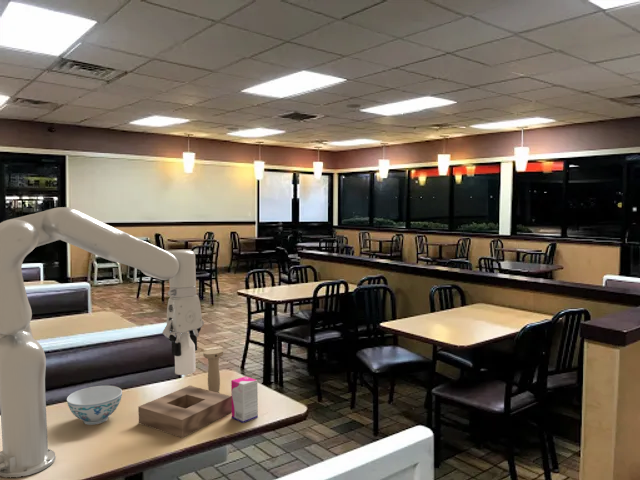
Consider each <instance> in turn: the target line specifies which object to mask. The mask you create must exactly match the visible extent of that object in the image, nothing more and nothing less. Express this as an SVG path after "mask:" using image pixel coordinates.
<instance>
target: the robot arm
mask: <svg viewBox="0 0 640 480" xmlns="http://www.w3.org/2000/svg"><path fill="white" fill-rule="evenodd" d="M56 241H62V242H65V243H67V244H69V245H72V246H74V247H76V248H79V249H80V250H81V249H82V250H83V251H85V252H88V253H90V254H92V255H95V256H97V257H100V258H102V259H105V260H108V261H110V262H114V263H119V264H123V265H125V266H128V267H131V268H134V269H136V270H139V271H140V272H141V273H143V275H145V276H147V277H149V278H154V279H158V280H161V281H169V282H168V283H169V290H168V291H167V295H168V296H169V298H168V300H167V301H168V302H167V308H166V326H165V327H164V329H163V330H162V333H161V334H162V335H164V336H165V338H166V339H168V341H169V342H170V343H171V355H172V356H174V357H175V356H181V343H180V342H179V339H180V335H181V333H184V332H188V333H189V334H190V338H191V340H192V341H193V342H194V344H195V352H196V351H198V337H199V334H200V332H201V329H202V328H203V326H204V324H205V322H204V320H203V317H202V307H201V300H200V297H199V294H198V295H197V274H196V273H197V272H196V265H197V264H196V254H195V252H194V251H193V250H190V249H179V250H178V249H177V250H173V251H172V250H171V251H167V250H165V249H162V248H161V247H159V246H157V245H154V244H152V243H149V242H148V241H144V240H142V239H141V238H138V237H136V236H134V235H131V234H130V233H127V232H126V231H123V230H121V229H118V228H116V227H114V226H112V225H109V224H107V223H105V222H103V221H101V220H99V219H96V218H94V217H93V216H91V215H88V214H87V213H84V212H82V211H79V210H78V209H75V208H72V207H68V206H64V207H63V206H62V207H60V206H59V207H54V208H50V209H46V210H44V211H39V212H36V213H31V214H27V215H23V216H19V217H14V218H10V219H6V220H3V221H1V222H0V424H1V425H0V427H1V442H2V443H1V444H2V446H1V447H2V451H0V477H2V478H7V477H10V478H11V477H16V478H22V477H21V476H23V477H27V476H30V475H34V474H36V473H39V472H41V471H43V470H45V469H46V468H47V469H48V467H50V466H52V464H53V463H54V462H55V461H56V452H55V451H54V450H52V449H50V448H49V446H48V445H49V444H48V443H49V442H48V423H47V422H48V420H47V403H46V401H47V400H46V367H47V358H46V354H45V351H44V348H43V346H42V345H41V344H40V343H39V342H38V341H37V340H36V339H35V338H34V336H33V332H32V328H31V324H30V323H31V321H32V316H33V313H32V307H31V304H30V301H29V298H28V294H27V292H26V287H25V282H24V277H23V272H22V270H23V269H22V266H23V262H24V260H25V258H26V257H27V256H28V255H29V254H30V253H31V252H33V250H34V249H35V248H37V247H40V246H44V245H46V244H50V243H53V242H56ZM10 478H9V479H10ZM11 479H12V478H11Z"/></svg>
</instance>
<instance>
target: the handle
mask: <svg viewBox="0 0 640 480" xmlns="http://www.w3.org/2000/svg"><path fill="white" fill-rule="evenodd" d="M223 355H224V350H223V349H221V348H215V349H210V350H209V349H208V350H205V351H203V355H202V356H203V357H204V358H206V359H207V361H208V362H207V363H208V364H207V365H208V368H207V386H208V387H207V390H209V391H213V392H217V393H220V389H221V388H220V387H221V375H220V364H219V363H220V362H219V359H220V358H221V357H222V356H223Z"/></svg>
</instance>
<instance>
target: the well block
mask: <svg viewBox="0 0 640 480" xmlns="http://www.w3.org/2000/svg"><path fill="white" fill-rule="evenodd" d="M137 408H138V411H137V413H138V424H140V425H143V426H147V427H149V428H152V429H155V430H157V431H161V432H164V433H167V434H169V435H173V436H176V437H179V438H182V439H183V438H185V437H187V436H189V435H191V434H192V433H195V432H196V431H199V430H200V429H202V428H204V427H206V426H208V425H209V424H212V423H213V422H216V421H218V420H220V419H222V418H223V417H225V416H227V415H230V414H232V396H231V395H229V394H228V395H227V394H224V393H220V392H219V393H217V392H213V391H209V389H206V388H205V389H204V388H201V387H197V386H193V385H188V386H185V387H182V388H180V389H178V390H175V391H172V392H171V393H168V394H166V395H164V396H161V397H159V398H156V399H154V400H152V401H148V402H146V403H144V404H142V405H139V406H138V407H137Z"/></svg>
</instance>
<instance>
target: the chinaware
mask: <svg viewBox="0 0 640 480" xmlns="http://www.w3.org/2000/svg"><path fill="white" fill-rule="evenodd" d="M122 396H123V390H122V388H120V387H118V386H115V385H98V386H95V385H94V386H90V387H86V388H82V389H78V390H76V391H74V392H71V393H70V394H69V395H68V396H67V398H66V403H67V407H68V409H69V410H70V412H71V413H72V414H73V416H74V417H76V418H77V419H79V420H80V421H81V420H82V421H83V424H85V425H87V426H94V425H99V424H102V423H105V422H106V421H108V419H109V416H111V415H112V414H114V412H115V411H116V410H117V408H118V407H119V405H120V402H121V400H122Z"/></svg>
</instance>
